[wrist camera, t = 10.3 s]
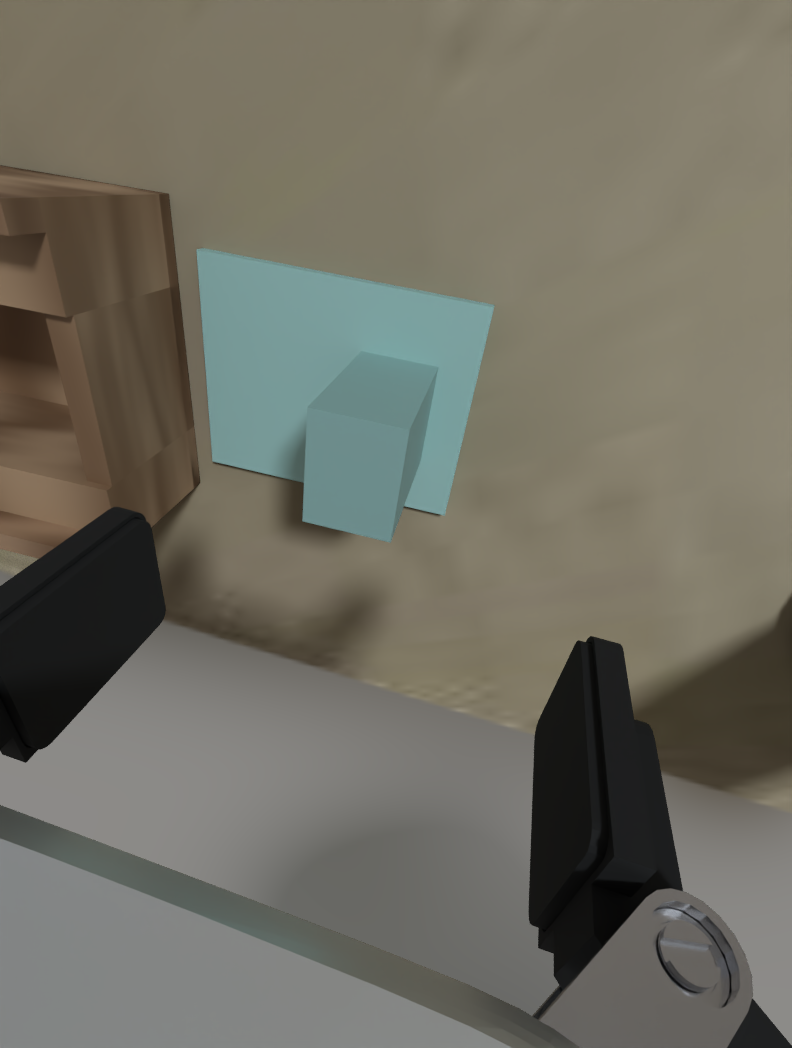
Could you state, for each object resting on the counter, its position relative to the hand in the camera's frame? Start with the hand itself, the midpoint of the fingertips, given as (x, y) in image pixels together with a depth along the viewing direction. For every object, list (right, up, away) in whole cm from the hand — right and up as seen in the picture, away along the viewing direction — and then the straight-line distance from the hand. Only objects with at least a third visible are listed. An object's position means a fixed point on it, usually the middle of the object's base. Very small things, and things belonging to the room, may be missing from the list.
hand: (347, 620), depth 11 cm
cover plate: (-1, +8, +10) cm, 13 cm away
